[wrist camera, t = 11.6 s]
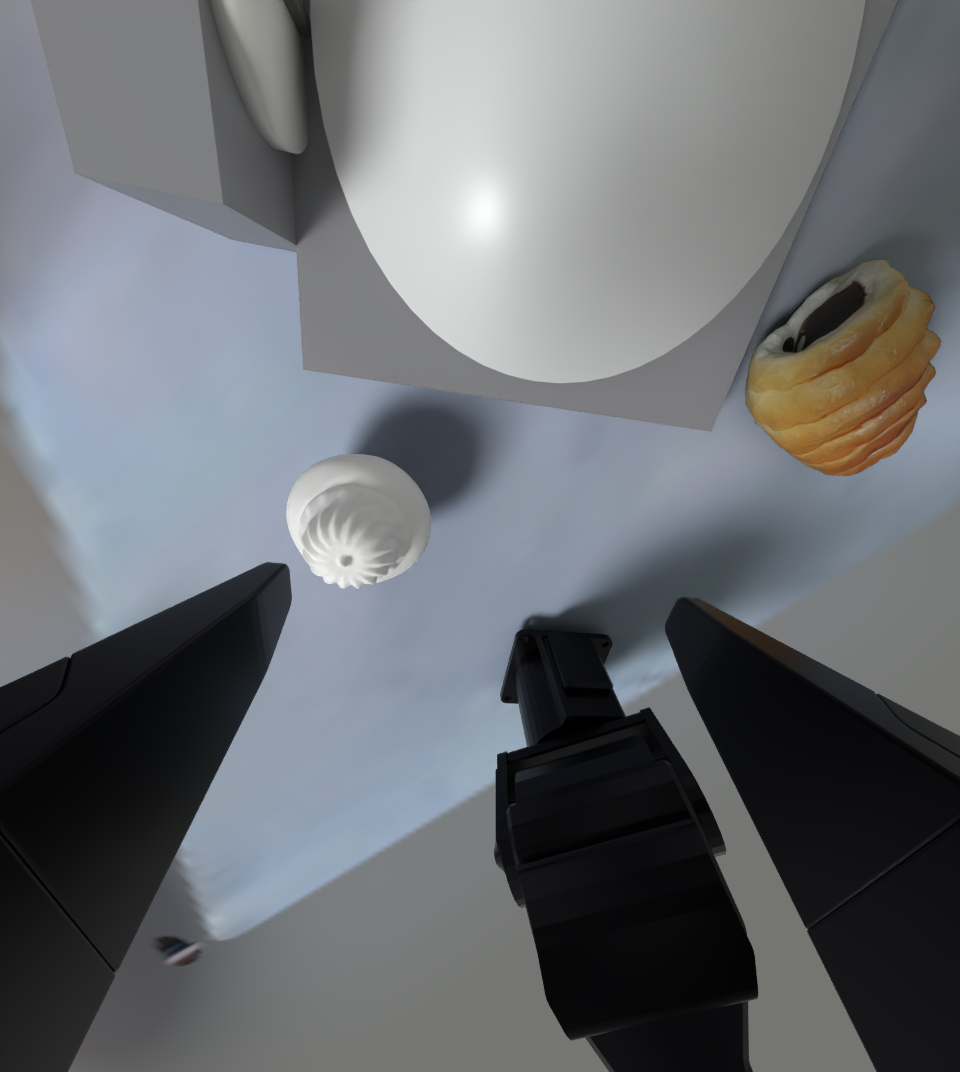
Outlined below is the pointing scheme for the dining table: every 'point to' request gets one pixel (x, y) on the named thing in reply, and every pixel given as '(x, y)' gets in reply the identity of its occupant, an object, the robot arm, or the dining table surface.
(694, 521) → the dining table surface
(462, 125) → the scale
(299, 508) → the garlic bulb
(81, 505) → the dining table surface
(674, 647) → the robot arm
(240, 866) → the dining table surface
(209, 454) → the dining table surface
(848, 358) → the pastry
